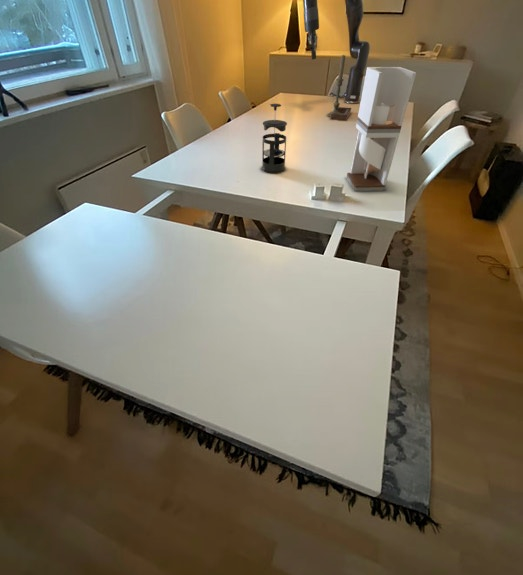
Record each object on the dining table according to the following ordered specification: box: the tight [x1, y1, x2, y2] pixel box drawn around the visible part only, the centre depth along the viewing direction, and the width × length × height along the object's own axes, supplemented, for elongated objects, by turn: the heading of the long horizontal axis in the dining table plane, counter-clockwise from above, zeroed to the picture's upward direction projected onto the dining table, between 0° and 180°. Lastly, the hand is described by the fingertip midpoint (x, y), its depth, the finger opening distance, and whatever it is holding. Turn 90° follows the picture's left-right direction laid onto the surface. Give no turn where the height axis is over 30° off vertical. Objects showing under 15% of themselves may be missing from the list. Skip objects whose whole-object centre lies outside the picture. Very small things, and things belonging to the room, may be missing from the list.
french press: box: [261, 103, 288, 174], centre depth 120 cm, size 12×9×23 cm
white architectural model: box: [346, 66, 417, 192], centre depth 105 cm, size 11×11×35 cm
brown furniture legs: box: [330, 106, 352, 122], centre depth 188 cm, size 9×18×3 cm, turn 160°
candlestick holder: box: [327, 54, 346, 118], centre depth 180 cm, size 9×9×30 cm
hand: (314, 59), depth 176 cm, fingers closed
